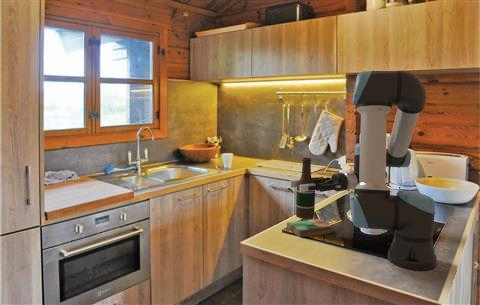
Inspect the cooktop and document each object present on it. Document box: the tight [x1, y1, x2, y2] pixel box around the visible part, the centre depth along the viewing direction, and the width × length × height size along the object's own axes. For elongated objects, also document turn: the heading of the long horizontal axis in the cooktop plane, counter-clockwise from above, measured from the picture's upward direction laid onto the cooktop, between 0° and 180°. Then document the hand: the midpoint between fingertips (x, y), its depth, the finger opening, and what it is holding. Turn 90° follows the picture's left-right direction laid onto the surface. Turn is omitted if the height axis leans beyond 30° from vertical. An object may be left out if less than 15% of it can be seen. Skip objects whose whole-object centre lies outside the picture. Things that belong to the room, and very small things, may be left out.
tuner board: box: [286, 218, 333, 238], centre depth 162 cm, size 11×15×3 cm
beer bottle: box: [295, 157, 316, 220], centre depth 158 cm, size 8×8×24 cm
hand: (295, 186), depth 156 cm, fingers closed on beer bottle, 7 cm apart
